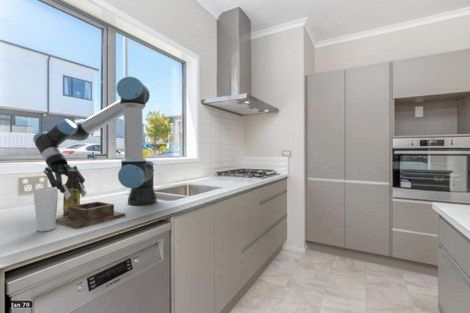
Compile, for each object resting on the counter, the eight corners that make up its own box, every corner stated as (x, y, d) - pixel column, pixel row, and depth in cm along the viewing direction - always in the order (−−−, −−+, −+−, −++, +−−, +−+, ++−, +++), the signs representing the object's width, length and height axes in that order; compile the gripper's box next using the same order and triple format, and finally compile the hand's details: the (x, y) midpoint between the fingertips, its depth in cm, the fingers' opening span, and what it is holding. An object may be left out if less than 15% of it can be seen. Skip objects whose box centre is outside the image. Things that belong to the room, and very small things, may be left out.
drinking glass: (62, 226, 90) (62, 187, 90) (49, 232, 84) (48, 190, 83) (44, 226, 90) (43, 187, 90) (29, 232, 83) (28, 190, 83)
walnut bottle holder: (103, 211, 114) (103, 199, 114) (125, 216, 106) (125, 203, 106) (55, 222, 96) (55, 207, 96) (76, 228, 88) (76, 213, 88)
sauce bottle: (60, 216, 105) (60, 170, 104) (66, 212, 111) (65, 169, 110) (77, 215, 107) (77, 170, 106) (82, 211, 113) (82, 169, 112)
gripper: (72, 163, 123) (93, 197, 117) (27, 165, 106) (49, 205, 100) (78, 153, 121) (100, 187, 115) (34, 153, 104) (57, 194, 97)
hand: (77, 196), depth 107 cm, fingers closed on sauce bottle, 6 cm apart
